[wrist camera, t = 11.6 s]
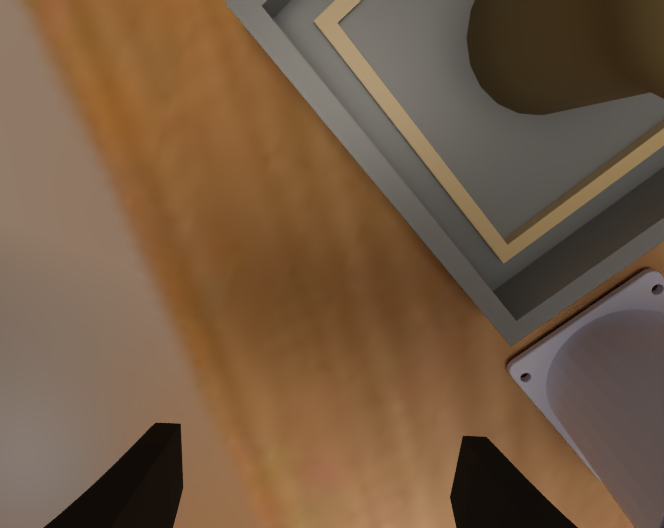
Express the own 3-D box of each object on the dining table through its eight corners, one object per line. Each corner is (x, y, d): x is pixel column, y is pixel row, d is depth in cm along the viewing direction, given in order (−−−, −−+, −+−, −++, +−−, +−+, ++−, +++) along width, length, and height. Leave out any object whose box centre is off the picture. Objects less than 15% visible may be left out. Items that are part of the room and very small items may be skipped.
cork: (536, -104, 16) (908, -454, 6) (664, -1, 17) (1167, -140, 7) (434, 60, 18) (581, 14, 8) (557, 145, 19) (831, 205, 9)
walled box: (817, 68, 19) (921, 62, 15) (483, 308, 22) (510, 346, 19) (617, -359, 15) (703, -493, 11) (243, 19, 18) (224, 2, 15)
